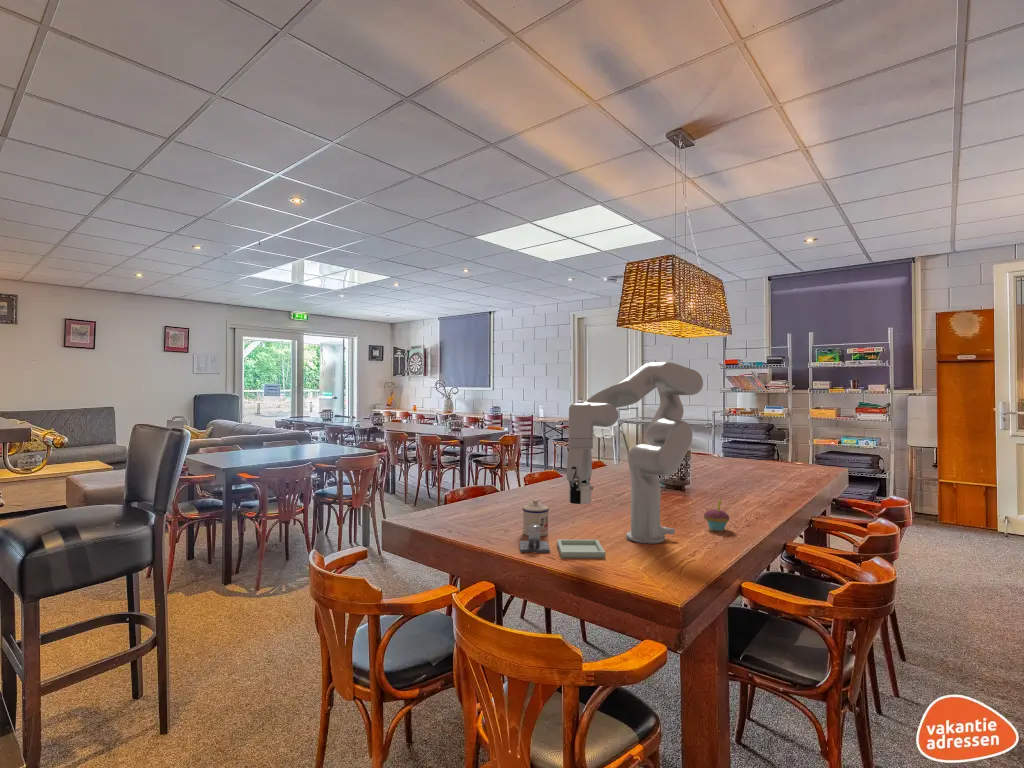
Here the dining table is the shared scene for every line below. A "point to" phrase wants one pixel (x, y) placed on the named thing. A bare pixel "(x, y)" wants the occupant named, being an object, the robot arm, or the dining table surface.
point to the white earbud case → (584, 493)
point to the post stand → (534, 541)
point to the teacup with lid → (535, 517)
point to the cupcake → (717, 518)
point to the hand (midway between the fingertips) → (579, 500)
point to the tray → (580, 548)
